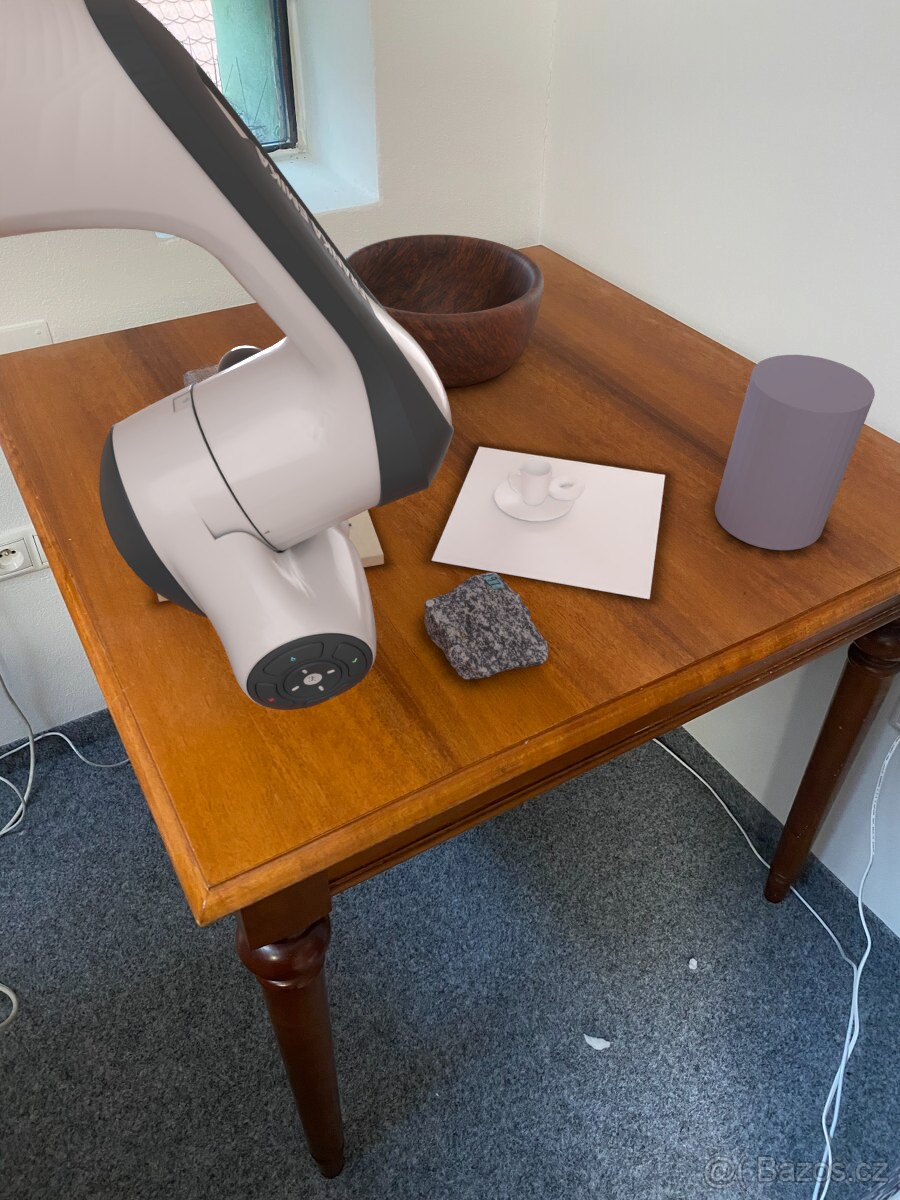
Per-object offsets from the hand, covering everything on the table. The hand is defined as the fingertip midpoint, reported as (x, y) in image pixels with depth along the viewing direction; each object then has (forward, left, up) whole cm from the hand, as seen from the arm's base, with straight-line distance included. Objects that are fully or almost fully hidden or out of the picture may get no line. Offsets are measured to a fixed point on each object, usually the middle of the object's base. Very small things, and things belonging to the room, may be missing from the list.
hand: (251, 404), depth 68 cm
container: (+48, -4, -17) cm, 51 cm away
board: (0, +9, -17) cm, 19 cm away
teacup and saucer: (+28, +2, -17) cm, 33 cm away
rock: (+16, -13, -17) cm, 27 cm away
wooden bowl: (+26, +38, -17) cm, 48 cm away
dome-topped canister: (0, -1, -5) cm, 5 cm away
